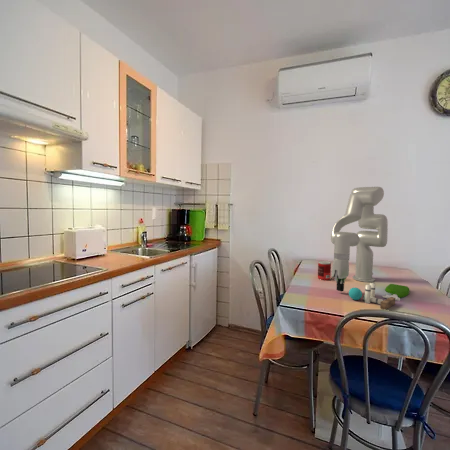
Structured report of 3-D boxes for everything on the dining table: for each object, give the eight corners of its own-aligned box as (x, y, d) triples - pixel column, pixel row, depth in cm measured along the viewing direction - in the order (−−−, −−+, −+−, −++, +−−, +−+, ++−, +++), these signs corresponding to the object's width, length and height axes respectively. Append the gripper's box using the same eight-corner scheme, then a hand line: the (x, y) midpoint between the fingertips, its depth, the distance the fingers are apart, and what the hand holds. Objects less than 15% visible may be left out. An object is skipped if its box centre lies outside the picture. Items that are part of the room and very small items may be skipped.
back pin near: (365, 301, 127) (366, 284, 126) (371, 302, 125) (372, 285, 124) (363, 302, 125) (364, 284, 125) (369, 303, 123) (369, 286, 123)
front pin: (365, 294, 129) (383, 298, 123) (365, 299, 130) (384, 303, 123) (362, 296, 128) (381, 300, 121) (363, 300, 128) (382, 305, 121)
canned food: (331, 278, 169) (331, 261, 168) (329, 281, 162) (329, 263, 161) (318, 276, 173) (319, 260, 172) (316, 279, 166) (317, 262, 165)
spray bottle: (410, 292, 144) (404, 304, 126) (387, 287, 152) (379, 298, 133) (411, 286, 144) (405, 298, 126) (388, 282, 151) (379, 293, 133)
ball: (367, 294, 125) (361, 297, 131) (358, 284, 128) (353, 286, 133) (357, 300, 124) (352, 303, 130) (349, 290, 127) (344, 292, 132)
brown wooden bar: (390, 302, 125) (390, 296, 125) (395, 304, 123) (395, 297, 123) (380, 308, 117) (380, 302, 117) (385, 309, 116) (385, 303, 116)
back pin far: (370, 299, 130) (371, 282, 130) (375, 300, 128) (376, 283, 128) (368, 300, 128) (368, 283, 128) (373, 301, 127) (374, 284, 126)
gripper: (341, 254, 145) (340, 286, 146) (327, 256, 135) (326, 291, 137) (355, 256, 139) (353, 289, 140) (341, 259, 130) (339, 295, 131)
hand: (340, 290), depth 138 cm, fingers closed
